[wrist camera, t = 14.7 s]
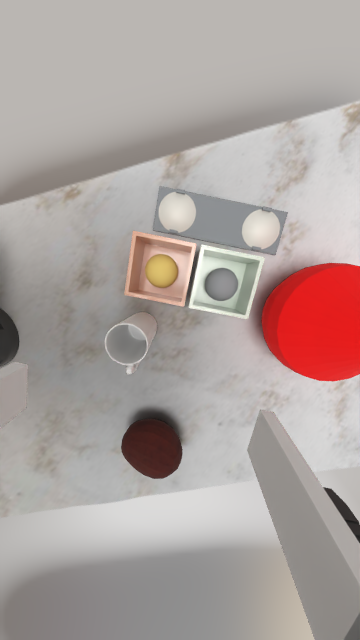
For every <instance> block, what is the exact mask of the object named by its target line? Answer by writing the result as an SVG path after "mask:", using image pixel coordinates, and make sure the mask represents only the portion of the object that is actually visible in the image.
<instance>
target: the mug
mask: <svg viewBox="0 0 360 640" xmlns="http://www.w3.org/2000/svg"><path fill="white" fill-rule="evenodd" d="M156 332H157V322H156V320H155V318H154V317H153V316H152V315H150V314H149V313H146V312H139V313H136V314H134V315H132V316H130V317H129V318H127V319H125V320H123V321H122V322H120V323H118V324H117V325H115V326H113V327H112V328H111V329H110V330H109V331H108V333H107V334H106V337H105V349H106V351H107V353H108V355H109V356H110V358H111V359H113V360H114V361H115V362H117V363H119V364H122V365H127V367H126V374H129V375H130V374H132V373H134V372H135V371H136V369H137V367H138V365H139V363H140V361H141V360H142V359H143V358H144V357H145V355H146V353H147V351H148V349H149V347H150V345H151V343H152V340H153V338H154V336H155V334H156Z"/></svg>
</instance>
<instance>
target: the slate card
mask: <svg viewBox="0 0 360 640" xmlns="http://www.w3.org/2000/svg"><path fill="white" fill-rule="evenodd" d="M287 213H288V212H284V211H279V210H274V209H272V208H268V207H259V206H254V205H250V204H245V203H240V202H235V201H230V200H225V199H220V198H215V197H211V196H206V195H201V194H196V193H191V192H186V191H185V190H180V189H172V188H167V187H162V186H160V187H159V193H158V200H157V206H156V213H155V219H154V226H153V230H154V231H159V232H164V233H168V234H173V235H178V236H183V237H188V238H193V239H198V240H203V241H208V242H213V243H218V244H223V245H228V246H233V247H237V248H242V249H247V250H252V251H257V252H262V253H267V254H272V255H276V252H277V248H278V245H279V241H280V238H281V234H282V231H283V227H284V224H285V220H286V217H287Z"/></svg>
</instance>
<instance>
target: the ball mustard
mask: <svg viewBox="0 0 360 640" xmlns="http://www.w3.org/2000/svg"><path fill="white" fill-rule="evenodd" d="M145 275H146V277H147V279H148V281H149V282H150V283H151V284H152V285H153V286H155V287H159V288H165V287H168V286H170V285H172V284H173V283H174V282H175V280H176V278H177V276H178V267H177V264H176V262H175V261H174V259H173V258H171V257H170V256H168V255H165V254H157V255H154V256H153V257H151V258H150V259H149V260H148V262H147V264H146V266H145Z"/></svg>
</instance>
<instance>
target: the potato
mask: <svg viewBox="0 0 360 640" xmlns="http://www.w3.org/2000/svg"><path fill="white" fill-rule="evenodd" d="M121 449H122V453H123V455H124V457H125V459H126V460H127V461H128V462H129V463H130V464H131V465H132V466H133V467H134V468H135V469H136V470H137V471H139V472H140V473H142V474H143V475H145V476H148V477H151V478H154V479H158V478H165V477H167V476H169V475H170V474H172V473H173V472H174V471H176V470H177V469H178V467H179V464H180V462H181V459H182V446H181V443H180V439H179V437H178V435H177V434H176V432H175V431H174V430H173V428H172V427H171V426H169V425H168V424H166V423H165V422H163V421H159V420H156V419H143V420H139V421H136V422H135V423H133V424H132V425H131V426H130V427H129V428H128V430H127V431H126V433H125V434H124V436H123V439H122V446H121Z"/></svg>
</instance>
